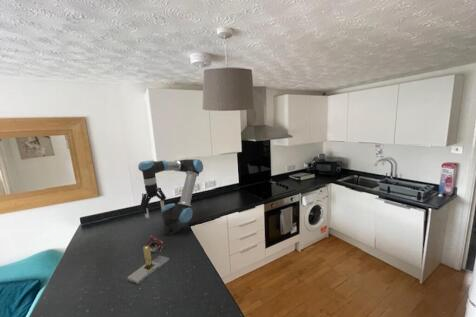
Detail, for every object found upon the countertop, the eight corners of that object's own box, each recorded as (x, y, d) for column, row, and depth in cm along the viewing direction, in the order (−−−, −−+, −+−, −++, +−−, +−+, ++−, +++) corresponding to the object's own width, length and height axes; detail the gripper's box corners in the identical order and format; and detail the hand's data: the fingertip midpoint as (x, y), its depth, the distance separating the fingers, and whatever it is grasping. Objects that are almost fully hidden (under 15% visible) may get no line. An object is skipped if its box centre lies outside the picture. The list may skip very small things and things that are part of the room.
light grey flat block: (150, 263, 128) (149, 260, 128) (160, 266, 124) (159, 263, 123) (127, 280, 114) (127, 277, 114) (138, 284, 110) (137, 281, 110)
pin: (150, 266, 125) (146, 244, 123) (154, 268, 123) (150, 245, 121) (145, 270, 122) (141, 247, 119) (149, 271, 120) (145, 249, 118)
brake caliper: (142, 253, 135) (144, 235, 141) (148, 254, 145) (149, 237, 151) (159, 251, 136) (160, 233, 142) (164, 252, 146) (164, 235, 152)
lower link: (159, 256, 134) (159, 255, 134) (169, 259, 130) (168, 258, 130) (139, 271, 121) (139, 270, 121) (149, 275, 117) (149, 274, 117)
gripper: (160, 178, 146) (165, 205, 150) (130, 189, 124) (135, 220, 128) (168, 178, 143) (172, 206, 146) (138, 190, 121) (143, 222, 124)
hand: (155, 213), depth 137 cm, fingers open, 13 cm apart
